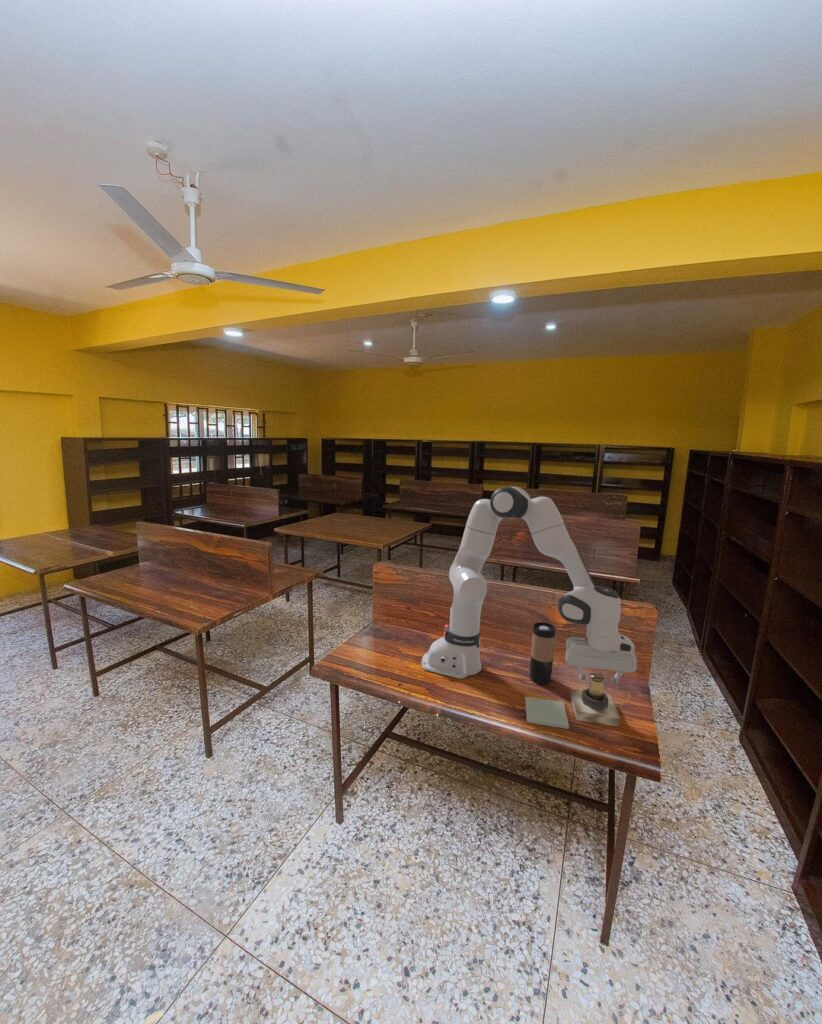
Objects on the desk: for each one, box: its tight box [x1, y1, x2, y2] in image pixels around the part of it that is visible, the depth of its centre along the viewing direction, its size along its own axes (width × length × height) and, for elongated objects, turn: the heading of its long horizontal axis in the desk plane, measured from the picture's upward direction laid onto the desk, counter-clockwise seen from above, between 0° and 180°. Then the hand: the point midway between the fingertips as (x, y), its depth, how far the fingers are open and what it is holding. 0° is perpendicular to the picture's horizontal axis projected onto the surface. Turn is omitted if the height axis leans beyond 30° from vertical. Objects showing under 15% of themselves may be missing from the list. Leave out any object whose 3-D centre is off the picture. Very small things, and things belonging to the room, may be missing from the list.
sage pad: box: [524, 696, 570, 730], centre depth 130 cm, size 12×12×1 cm
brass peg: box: [588, 672, 605, 701], centre depth 131 cm, size 4×4×9 cm
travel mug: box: [529, 621, 556, 686], centre depth 148 cm, size 8×8×20 cm
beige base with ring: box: [570, 687, 621, 727], centre depth 132 cm, size 12×12×6 cm
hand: (598, 680), depth 131 cm, fingers open, 8 cm apart
